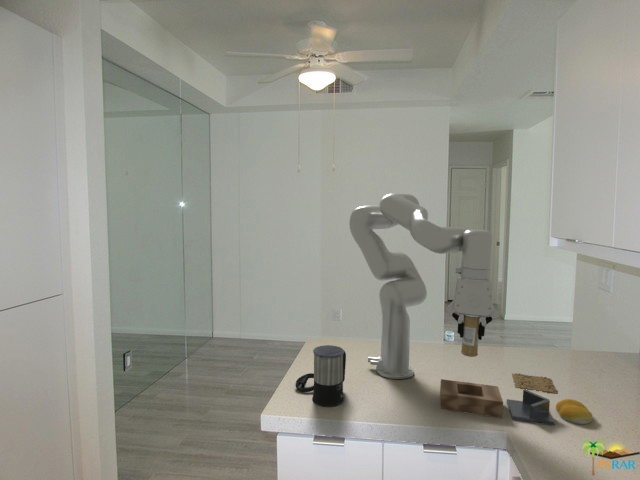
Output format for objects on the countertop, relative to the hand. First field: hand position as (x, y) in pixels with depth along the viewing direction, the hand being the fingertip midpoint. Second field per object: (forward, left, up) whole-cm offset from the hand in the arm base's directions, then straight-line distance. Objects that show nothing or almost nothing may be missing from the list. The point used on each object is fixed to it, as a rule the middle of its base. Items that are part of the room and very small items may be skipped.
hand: (470, 336), depth 116 cm
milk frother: (-43, -7, -20) cm, 48 cm away
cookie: (+22, +22, -21) cm, 37 cm away
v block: (+16, 0, -20) cm, 25 cm away
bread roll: (+27, +2, -20) cm, 34 cm away
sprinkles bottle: (0, 0, -5) cm, 5 cm away
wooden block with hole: (+1, 0, -20) cm, 20 cm away
